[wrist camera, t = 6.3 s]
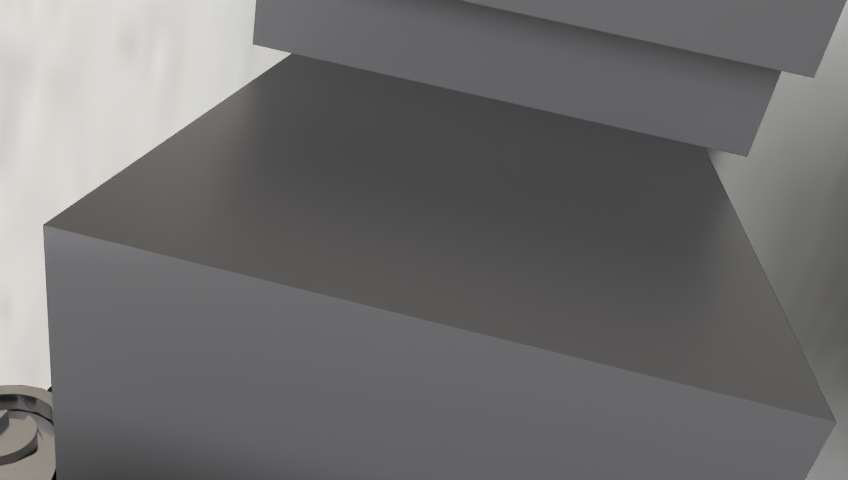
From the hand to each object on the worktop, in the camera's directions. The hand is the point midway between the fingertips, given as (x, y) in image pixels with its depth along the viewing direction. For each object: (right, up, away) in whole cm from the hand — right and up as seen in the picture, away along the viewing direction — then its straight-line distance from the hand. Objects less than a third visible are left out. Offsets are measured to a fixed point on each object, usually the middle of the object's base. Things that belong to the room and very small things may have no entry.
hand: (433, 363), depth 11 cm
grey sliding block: (0, 0, +1) cm, 1 cm away
